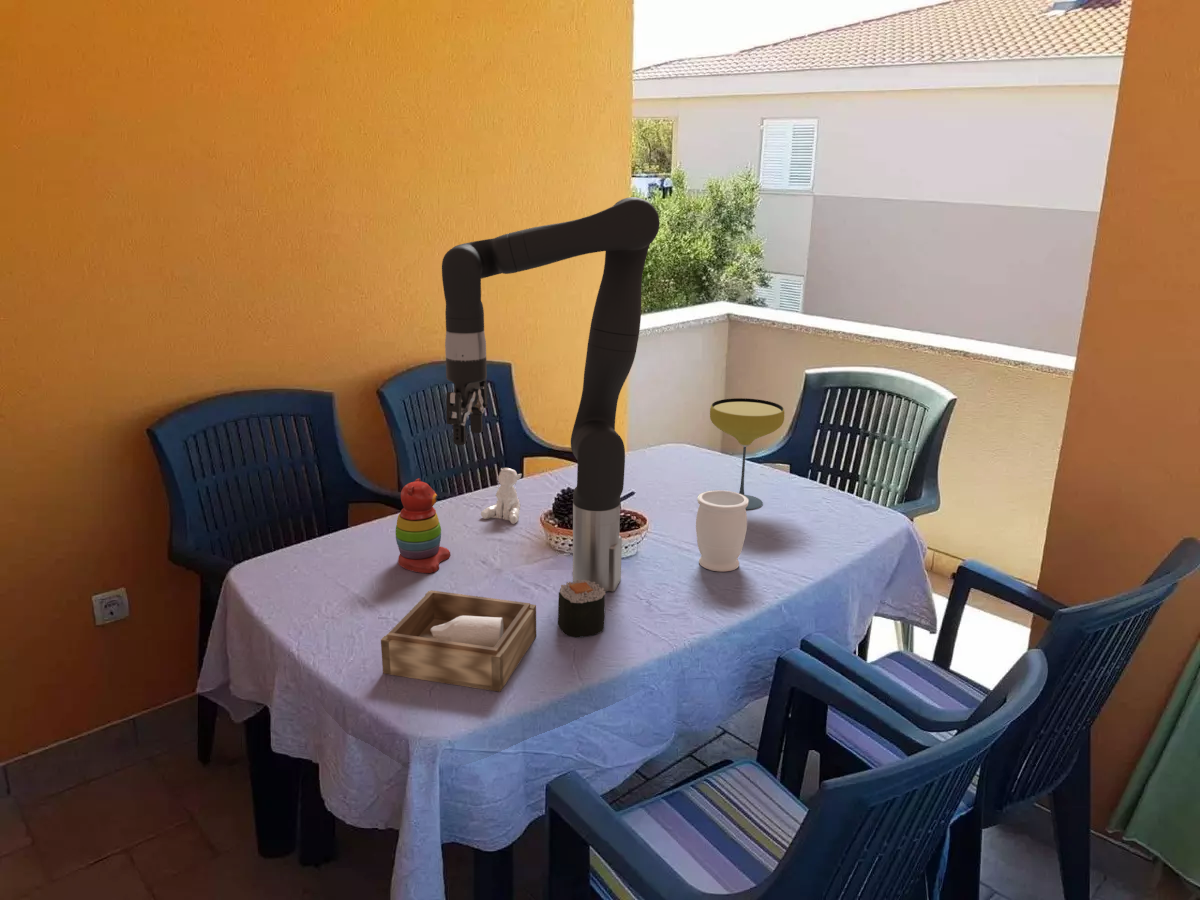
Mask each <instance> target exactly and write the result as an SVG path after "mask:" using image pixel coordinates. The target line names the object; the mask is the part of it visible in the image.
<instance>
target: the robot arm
mask: <svg viewBox="0 0 1200 900" xmlns="http://www.w3.org/2000/svg"><path fill="white" fill-rule="evenodd" d="M659 230H660V216H659V213H658V211H657V210H656V208H655V207H654V206H653V204H651V203H650V202H649V201H647V200H646V199H644V198H641V197H635V196H630V197H626V198H622V199H620V200H618V201H617V202H616V203H614V205H612V206H610V207H608V208H606V209H603V210H601V211H598V212H595V213H594V214H591V215H590V214H589V215H588V216H584V217H581V218H578V219H574V220H573V219H572V220H569V221H563V222H558V223H553V224H546V225H540V226H535V227H531V228H525V229H521V230H516V231H512V232H509V233H505V234H503V235H499V236H496V237H494V238H488V239H487V238H485V239H482V240H481V239H480V240H475V241H470V242H465V243H461V244H457V245H455V246H454V247H452V248H450V249H449V250H447V251H446V253H445V254H444V256H443V258H442V261H441V279H442V280H441V281H442V287H443V293H444V294H443V295H444V300H445V339H444V341H445V342H444V348H445V350H444V353H445V376H446V377H445V378H446V379H447V381H449V382H452V383H453V384H454V388H453V392H452V391H451V392H450V391H447V392H446V394H445V395H446V400H445V401H446V402H445V403H446V424H447V425H451V426H452V436H453V438H452V439H453V444H454V445H458V446H464V445H465V444H466V443H467V442H466V441H467V436H466V435H467V434H466V433H467V432H466V422H467V417H468V416H470V417H469V418H470V419H469V420H470V431H471V433H473V434H481V433H482V432H483V414H484V412H485V409H487V408H488V392H487V391H488V390H487V389H488V388H487V377H488V374H487V372H488V371H487V370H488V369H487V368H488V367H487V340H486V334H485V313H484V312H485V311H484V310H485V309H484V304H483V302H482V279H485V278H489V277H493V276H496V275H500V274H504V275H508V274H509V275H510V274H517V273H519V272H523V271H528V270H533V269H537V268H541V267H543V266H548V265H550V264H554V263H557V262H560V261H565V260H567V259H572V258H574V257H575V258H576V257H578V256H583V255H588V254H594V253H599V252H600V253H601V252H605V255H604V265H603V273H602V277H601V281H600V285H599V288H598V292H597V295H596V300H595V304H594V308H593V311H592V316H591V317H592V318H591V320H590V321H591V323H590V327H589V333H588V340H587V345H586V346H587V348H586V354H585V355H586V356H585V362H584V372H583V384H582V393H581V397H580V402H579V405H578V410H577V413H576V416H575V420H574V424H573V426H572V427H573V428H572V431H571V432H572V433H571V436H570V449H571V451H572V455H573V456H574V458H575V459H576V460H577V462H576V464H577V471H576V473H577V475H576V476H577V477H576V486H575V488H574V489H573V493H572V494H573V495H572V496H573V497H572V582H573V581H574V582H576V580H577V579H579V580H580V581H581V580H587V581H590V582H591V583H592V582H595V585H596V584H599V586H598V587H600V588H604V590H603V591H605V592H615V591H616V589H617V587H618V586H619V583H620V582H621V579H622V550H623V549H622V548H623V547H622V544H623V543H622V542H623V540H622V539H623V537H622V536H621V535H620V522H621V520H620V519H621V496H622V494H623V490H624V484H625V483H624V482H625V466H626V464H625V463H626V451H625V449H626V448H625V444H624V441H623V439H622V437H621V436H620V434H618V432H617V431H616V416H617V408H618V401H619V396H620V393H621V390H622V388H623V386H624V384H625V383H626V380H627V378H628V376H629V374H630V372H631V369H632V367H633V364H634V362H635V358H636V354H637V348H638V343H639V336H640V329H641V320H642V318H641V317H642V283H643V281H642V280H643V273H644V267H645V265H646V260H647V256H648V252H649V247H650V245H651V244H652V243H653V241H654V240H655V239H656V237H657V236H658V233H659Z"/></svg>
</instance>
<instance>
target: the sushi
mask: <svg viewBox="0 0 1200 900" xmlns="http://www.w3.org/2000/svg"><path fill="white" fill-rule="evenodd" d="M598 586H599V584H596V585H595V582H592V583H591V582H590V581H587V580H581V581H580V580H579V579H577V580H576V582H574V581H573V580H572V582H571V581H568V582H566V583H565V584H561V585H560V589H559V592H558V602H557V603H558V605H557V607H558V609H557V625H558V627H559V629H560V630H561V632H562V633H563V635H566V636H567V637H571V638H584V637H585V638H586V637H590V636H595V635H598V634H600V633H602V632H603V631H604V630H605V613H606V611H605V609H606V605H605V603H606V602H605V601H606V599H605V598H606V597H605V595H606V591H603V590H604V588H600V587H598Z"/></svg>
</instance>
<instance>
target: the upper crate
mask: <svg viewBox="0 0 1200 900" xmlns="http://www.w3.org/2000/svg"><path fill="white" fill-rule="evenodd" d="M429 591H430V592H429V593H428V594H427V595H426V596H425V595H424V596H425V597H424V596H423V597H424V598H423V597H422V598H423V599H422V598H421V599H422V600H421V599H420V600H421V601H420V600H419V601H420V602H419V601H418V602H419V603H418V602H417V603H418V604H417V603H416V604H417V605H416V604H415V605H416V606H415V605H414V606H415V607H414V608H413V607H412V609H411V610H409V612H408V613H406V614H405V616H404V617H403V618H401V620H400V621H398V622H397V624H396V625H395V626H394V627H395V628H394V627H393V628H394V629H393V628H392V629H393V630H392V629H391V630H392V631H391V630H390V631H391V632H390V631H389V632H390V633H389V632H388V633H389V634H388V633H387V634H388V635H387V634H386V635H387V637H388V638H390V639H391V640H397V641H403V642H410V643H417V644H424V645H431V646H437V647H444V648H451V649H458V650H465V651H471V652H478V653H485V654H497V653H498V652H499V651H500V650H501V648H502V647H503V646H504V644H505V643H506V641H507V640H508V638H509V637H510V636H511V634H512V633H513V631H514V630H515V628H516V627H517V626H518V624H519V623H520V621H521V620H522V619H523V617H524V616H525V614H526V613H527V611H528V610H529V608H530V604H531V603H530V602H523V601H516V600H509V599H508V600H507V599H501V598H491V597H484V596H477V595H472V594H471V595H468V594H463V593H454V592H447V591H446V592H445V591H439V590H429ZM459 616H481V617H501V618H503V624H504V625H503V627H504V628H503V631H504V634H503V635H502V637H501V638H500V639H499V641H498V642H497V643H496V645H495V646H494V648H493V647H487V646H480V645H473V644H466V643H459V642H452V641H445V640H439V639H437V638H435V637H433V635H432V632H431V630H430V629H431V628H432V627H433V626H437V625H441V624H445V623H447V622H449V621H451V620H453V619H455V618H456V617H459Z"/></svg>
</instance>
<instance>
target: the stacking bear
mask: <svg viewBox="0 0 1200 900" xmlns="http://www.w3.org/2000/svg"><path fill="white" fill-rule="evenodd" d="M400 500H401V504H402V506H403V508H402V509H401V511H400V512H399V514H398V515H397V518H396V526H395V540H396V544H397V547H398V551H399V555H398V559H397V563H398V565H399V566H400V567H402V568H403V569H406V570H408V571H411V572H416V573H423V574H431V573H435V572H437V571H438V570H439V569H440V566H439V564H440V563H441V562H442V561H446V560H448V559H449V558H450V557H451V551H450V550H449V549H448V548H447V547H445V546H440V545H441V539H442V527H441V523H440V519H439V517H438V513H437V510H436V508H434V506H435V504H436V503H437V500H438V494H437V493H436V491H435V490H434V489H433V488H432V487H431V486H430V485H429V484H428V483H427V482H424V481H422V480H421V478H416V479H415V480H414V481H412V482H408V483H407V484H405V485H404V486H403V487H402V489H401V491H400Z"/></svg>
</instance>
